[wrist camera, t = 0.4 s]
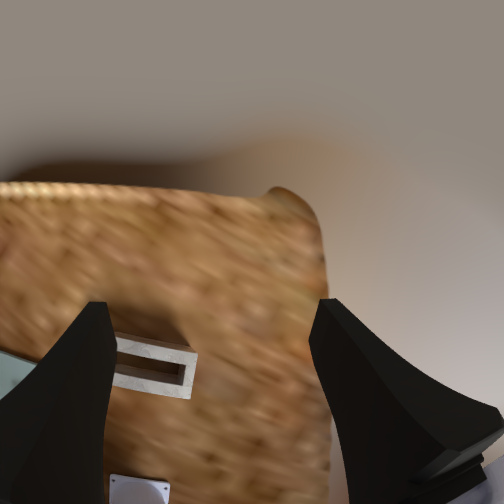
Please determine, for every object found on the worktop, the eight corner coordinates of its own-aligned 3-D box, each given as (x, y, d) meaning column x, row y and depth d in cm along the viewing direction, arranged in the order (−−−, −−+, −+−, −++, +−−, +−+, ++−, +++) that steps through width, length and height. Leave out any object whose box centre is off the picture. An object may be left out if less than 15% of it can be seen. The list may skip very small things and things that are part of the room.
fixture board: (81, 447, 30) (80, 450, 29) (-13, 415, 26) (-15, 417, 25) (85, 377, 32) (84, 379, 31) (-12, 345, 28) (-15, 346, 27)
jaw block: (183, 386, 36) (189, 399, 31) (102, 370, 33) (97, 381, 28) (190, 346, 37) (197, 353, 32) (109, 329, 34) (104, 334, 29)
